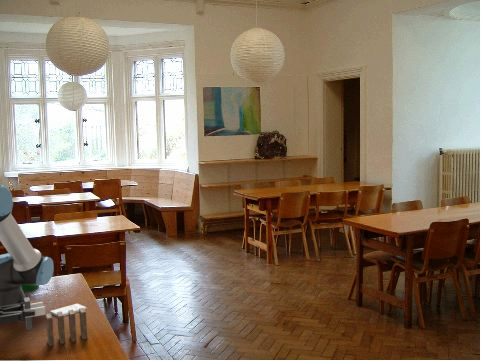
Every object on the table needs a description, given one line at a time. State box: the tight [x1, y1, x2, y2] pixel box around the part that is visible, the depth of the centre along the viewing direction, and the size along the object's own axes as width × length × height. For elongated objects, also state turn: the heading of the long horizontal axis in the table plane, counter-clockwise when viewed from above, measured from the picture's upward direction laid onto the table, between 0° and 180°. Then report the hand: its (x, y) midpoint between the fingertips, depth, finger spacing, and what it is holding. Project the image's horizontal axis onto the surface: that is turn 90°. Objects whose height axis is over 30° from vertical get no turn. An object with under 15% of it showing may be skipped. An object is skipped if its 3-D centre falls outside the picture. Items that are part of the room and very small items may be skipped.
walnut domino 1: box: [45, 313, 55, 347], centre depth 186 cm, size 2×5×10 cm, turn 25°
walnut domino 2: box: [56, 311, 66, 345], centre depth 187 cm, size 2×5×10 cm, turn 25°
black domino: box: [24, 296, 33, 331], centre depth 182 cm, size 2×5×10 cm, turn 26°
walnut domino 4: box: [78, 308, 88, 340], centre depth 191 cm, size 2×5×10 cm, turn 25°
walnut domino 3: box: [68, 310, 78, 342], centre depth 189 cm, size 2×5×10 cm, turn 25°
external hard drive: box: [48, 303, 87, 318], centre depth 220 cm, size 2×8×12 cm
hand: (44, 308), depth 184 cm, fingers closed on black domino, 5 cm apart
